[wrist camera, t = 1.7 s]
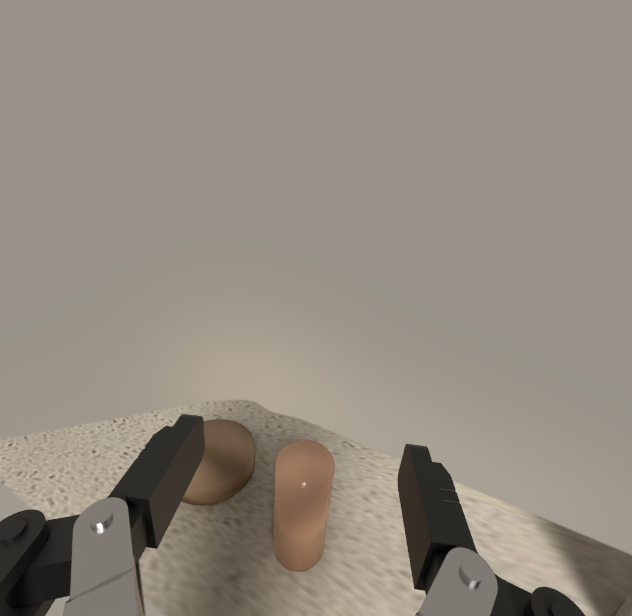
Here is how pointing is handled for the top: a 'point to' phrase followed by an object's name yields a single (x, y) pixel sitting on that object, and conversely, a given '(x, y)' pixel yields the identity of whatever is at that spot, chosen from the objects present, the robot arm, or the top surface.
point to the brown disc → (222, 463)
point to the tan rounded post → (301, 503)
